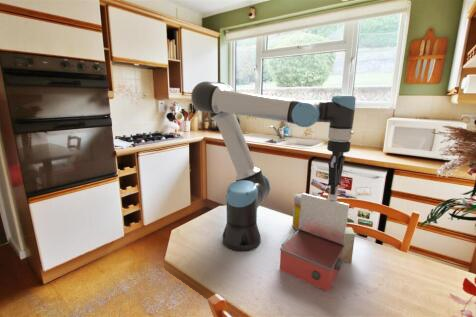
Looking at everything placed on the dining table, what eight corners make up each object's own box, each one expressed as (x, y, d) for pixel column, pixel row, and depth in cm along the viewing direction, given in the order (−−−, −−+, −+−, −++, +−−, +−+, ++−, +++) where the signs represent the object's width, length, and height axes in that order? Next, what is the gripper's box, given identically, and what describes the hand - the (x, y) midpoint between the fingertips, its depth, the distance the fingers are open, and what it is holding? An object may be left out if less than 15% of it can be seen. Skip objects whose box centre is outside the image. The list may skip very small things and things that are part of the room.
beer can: (308, 230, 106) (310, 198, 102) (293, 230, 106) (296, 198, 102) (304, 223, 112) (307, 192, 108) (291, 223, 112) (293, 192, 108)
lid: (302, 193, 88) (303, 192, 89) (298, 230, 91) (299, 229, 92) (348, 205, 79) (349, 203, 80) (342, 246, 82) (343, 243, 83)
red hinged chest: (274, 269, 83) (275, 248, 81) (293, 247, 94) (294, 228, 92) (332, 295, 72) (335, 272, 70) (345, 267, 83) (348, 247, 81)
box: (351, 263, 86) (355, 234, 83) (338, 261, 86) (342, 233, 84) (348, 253, 91) (351, 226, 88) (335, 252, 91) (339, 225, 89)
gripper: (345, 144, 80) (338, 210, 86) (354, 138, 90) (347, 198, 96) (322, 141, 85) (316, 204, 91) (333, 136, 95) (327, 193, 101)
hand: (332, 201), depth 94 cm, fingers closed
